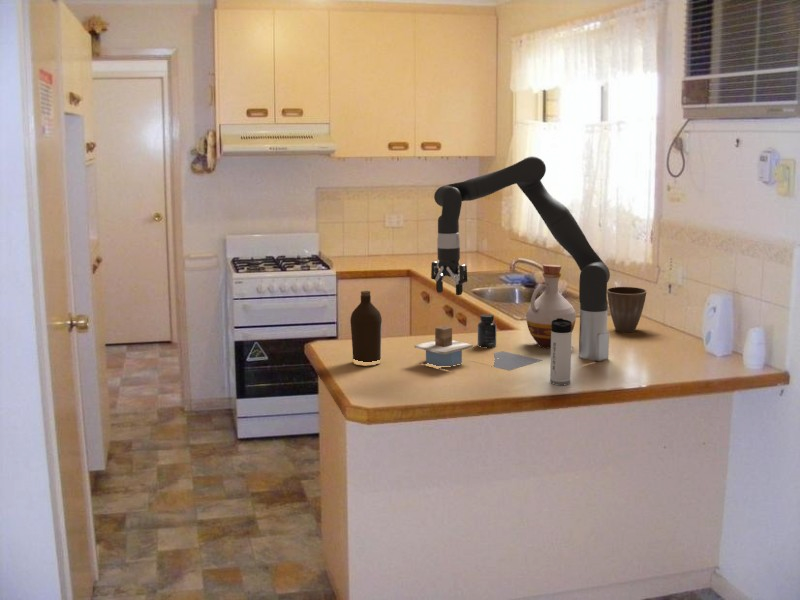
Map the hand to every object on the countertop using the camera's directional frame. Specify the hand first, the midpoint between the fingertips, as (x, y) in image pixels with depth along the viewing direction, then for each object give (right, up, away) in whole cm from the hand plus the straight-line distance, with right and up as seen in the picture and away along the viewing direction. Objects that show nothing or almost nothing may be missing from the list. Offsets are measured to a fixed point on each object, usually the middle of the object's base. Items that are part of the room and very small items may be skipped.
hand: (449, 293), depth 306 cm
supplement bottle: (+15, -20, +23) cm, 34 cm away
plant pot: (+71, -14, +47) cm, 87 cm away
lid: (-2, -18, -1) cm, 18 cm away
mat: (+19, -23, +3) cm, 31 cm away
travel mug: (+34, -28, -22) cm, 49 cm away
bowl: (-2, -24, +1) cm, 24 cm away
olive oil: (-28, -24, +3) cm, 37 cm away
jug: (+38, -19, +24) cm, 49 cm away
